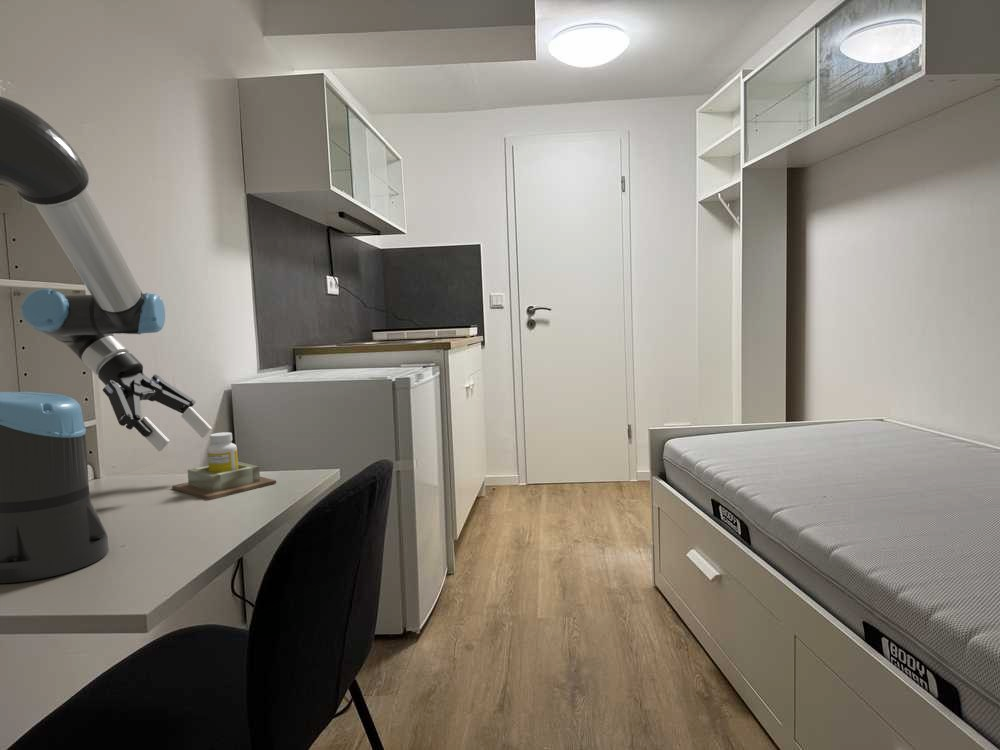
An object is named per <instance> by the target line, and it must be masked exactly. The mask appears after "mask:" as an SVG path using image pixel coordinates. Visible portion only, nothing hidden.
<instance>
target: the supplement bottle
mask: <svg viewBox="0 0 1000 750" xmlns="http://www.w3.org/2000/svg"><path fill="white" fill-rule="evenodd" d="M209 438H210V439H209V441H210V443H211V444H210V445H209V446H208V447H207V452H206V453H207V454H206V455H207V466H208V467H209V472H211V473H215V474H217V473H222V472H227V471H231V470H236V469H238V462H239V459H238V458H239V456H238V447H237V445H236V444H235V443H233V442H232V441H233V433H232V432H226V431H223V432H216V433H211V434H210V435H209Z"/></svg>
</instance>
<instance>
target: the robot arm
mask: <svg viewBox="0 0 1000 750" xmlns="http://www.w3.org/2000/svg"><path fill="white" fill-rule="evenodd" d="M90 181H91V179H90V175H89V173H88V170H87V169H86V167H85V165H84V163H83V160H82V159H81V157H80V155H78V153H76V151H75V149H74V148H73V147H72V146H71V144H70V143H69V142H68V141H67V139H65V138H64V136H62V135H61V133H59V132H58V131H57V129H55V128H54V127H53V126H52V125H51V124H49V122H47V121H46V120H44V119H43V118H42V117H40V116H39V115H38V114H36V113H35V112H33V111H32V110H30V109H29V108H27V107H25V106H24V105H22V104H20V103H18V102H16V101H14V100H11V99H8V97H7V98H6V97H5V96H0V183H4V184H6V185H9V186H12V187H13V188H14V189H15V190H16V192H17V194H18V195H19V196H20V198H21V199H22V200H23V201H24V202H26V203H29V204H30V205H31V204H32V205H34V206H35V207H36V209H37V210H38V212H39V214H40V215H41V217H42V219H43V220H44V221H45V223H46V225H47V226H48V228H49V229H50V231H51V233H52V235H53V236H54V237H55V239H56V241H57V242H58V244H59V246H60V247H61V248H62V251H63V252H64V254H65V255H66V256H67V258H68V260H69V261H70V263H71V264H72V266H73V268H74V269H75V271H76V272H77V274H78V276H79V277H80V279H81V281H82V282H83V284H84V285H85V287H86V288H87V290H88V291H89V294H69V295H68V294H67V295H66V294H63V293H62V292H60V291H57V290H54V289H52V288H38V289H35V290H33V291H31V292H30V293H28V294H27V296H26V297H24V299H23V301H22V303H21V307H20V311H21V312H20V313H21V316H22V318H23V319H24V321H25V322H26V323H27V324H28V325H30V326H31V327H33V329H35V330H36V331H38V332H41V333H43V334H45V335H47V336H50V337H52V338H54V339H55V340H56V341H58V342H60V343H62V344H64V345H66V346H67V347H68V348H69V349H70V350H71V351H72V352H73V353H74V354H75V355H76V356H77V357H78V359H80V360H81V361H82V362H83V363H84V365H85V366H87V367H88V368H89V369H90V370H91V371H92V372H93V374H95V375H96V376H98V379H99V380H100V381H101V383H103V384H104V385H105V386H104V388H103V389H102V391H103V394H105V395H106V397H107V398H108V399H109V402H110V405H111V407H112V411H113V412H114V415H115V417H116V419H117V422H118V424H119V425H120V426H121V427H125V428H126V429H127V430H131V431H132V430H133V428H135V429H136V430H137V431H138V433H139V434H140V435H142V437H144V438H145V439H146V440H147V441H148V442H149V443H150V444H151V445H152V446H153V447H154V448H155V449H156V450H157V451H158V452H161V451H163V450H164V449H165V447H166V446H167V445H168V444H169V442H171V441H170V439H169V438H168V437H167V436H166V435H165V434H164V433H163V432H162V431H161V430H160V428H158V427H157V426H156V425H155V424H154V423H153V421H151V420H150V418H148V417H147V416H144V417H143V415H142V408H141V401H150V402H156V403H160V404H161V405H164V406H165V407H168V408H169V409H171V410H174V411H176V412H178V413H180V414H181V415H180V416H181V418H182V419H183V420H184V421H185V422H186V423H187V424H188V425H189V426H190V428H192V429H193V430H194V431H195V432H196V433H197V434H198V435H199V436H200V437H201V438H203V439H204V438H205V437H207V435H208V434H209V433H210V432H211V431H212V430H213V427H212V426H211V425H210V424H209V422H207V421H206V420H205V419H204V418H203V417H202V416H201V415H200V414H199V413H198V412H197V411H196V409H194V407H193V406H194V405H195V404H196V400H195V399H193V398H192V397H190V396H189V395H188V394H185V393H184V392H182V391H181V390H179V389H178V388H176V387H175V386H173V385H171V384H170V383H168V382H167V381H165V380H164V379H163V378H162V377H161V376H160V375H158V374H153V375H152V377H148V376H146V375H145V374H144V371H143V370H144V366H143V363H141V362H140V361H139V360H138V359H137V358H136V357H135V356H134V355H133V354H132V353H130V350H129V349H128V348H127V347H126V346H125V344H123V343H122V342H121V341H120V340H118V338H117V337H116V336H114V335H142V334H154V333H158V332H161V330H163V327H164V325H165V321H166V309H165V304H164V302H163V299H162V298H161V296H160V295H158V294H156V293H149V292H145V293H143V292H142V290H141V288H140V287H139V284H138V283H137V281H136V278H135V277H134V275H133V272H132V271H131V270H130V268H129V266H128V264H127V262H126V260H125V258H124V256H123V254H122V252H121V250H120V248H119V246H118V245H117V242H116V240H115V239H114V237H113V235H112V233H111V231H110V229H109V226H108V225H107V223H106V221H105V220H104V217H103V216H102V213H101V212H100V210H99V208H98V206H97V204H96V202H95V200H94V198H93V196H92V195H91V192H90V190H89V189H88V187H89V185H90ZM86 433H87V429H86V426H85V423H84V417H83V409H82V406H81V404H80V403H79V402H78V401H77V399H74V398H73V397H70V396H67V395H64V394H60V393H59V394H58V393H49V392H38V391H37V392H36V391H35V392H34V391H18V392H17V391H0V584H13V583H21V582H22V583H23V582H29V581H35V580H37V581H38V580H41V579H48V578H50V577H55V576H60V575H63V574H66V573H70V572H73V571H77V570H79V569H82V568H84V567H88V566H89V565H91V564H94V563H96V562H98V561H99V560H101V559H102V558H104V557H106V556H107V554H108V553H109V551H110V549H109V548H110V547H109V537H108V534H107V533H108V532H107V531H106V530H105V527H104V525H103V523H102V521H101V519H100V517H99V515H98V513H97V510H96V509H95V506H94V505H93V503H92V500H91V496H90V495H91V493H90V482H89V467H88V457H87V456H88V453H87V441H86Z"/></svg>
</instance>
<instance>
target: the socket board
mask: <svg viewBox="0 0 1000 750" xmlns="http://www.w3.org/2000/svg"><path fill="white" fill-rule="evenodd" d="M260 472H261V471H260V466H259V465H254V464H250V463H246V462H242V461H238V469H236V470H231V471H227V472H222V473H217V474H215V473H211V472H209V467H208V465H205V466H200V467H194V468H190V469H187V481H186V482H182V483H178V484H174V485H172V486H171V489H173V490H174V491H178V492H182V493H185V494H189V495H191V496H195V497H198V498H202V499H205V500H208V501H209V500H214V499H218V498H222V497H226V496H231V495H234V493H235V494H238V493H243V492H246V491H251V490H254V489H258V488H262V487H267V486H271V485H270V484H272V485H275V484H274V483H276V484H277V480H275V479H272V478H269V477H263V476H261V475H260Z"/></svg>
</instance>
